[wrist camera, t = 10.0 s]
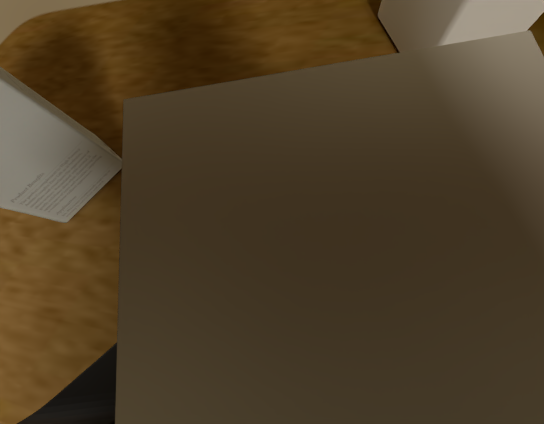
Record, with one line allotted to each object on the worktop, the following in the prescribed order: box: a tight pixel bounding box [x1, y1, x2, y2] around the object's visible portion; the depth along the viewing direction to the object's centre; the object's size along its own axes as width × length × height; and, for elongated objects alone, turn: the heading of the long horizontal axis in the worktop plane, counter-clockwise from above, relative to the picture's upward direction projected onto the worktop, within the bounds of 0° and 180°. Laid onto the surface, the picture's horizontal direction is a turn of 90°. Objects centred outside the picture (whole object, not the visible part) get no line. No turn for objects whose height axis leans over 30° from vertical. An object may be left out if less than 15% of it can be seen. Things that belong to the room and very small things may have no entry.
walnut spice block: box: [115, 31, 544, 424], centre depth 9 cm, size 5×5×13 cm
